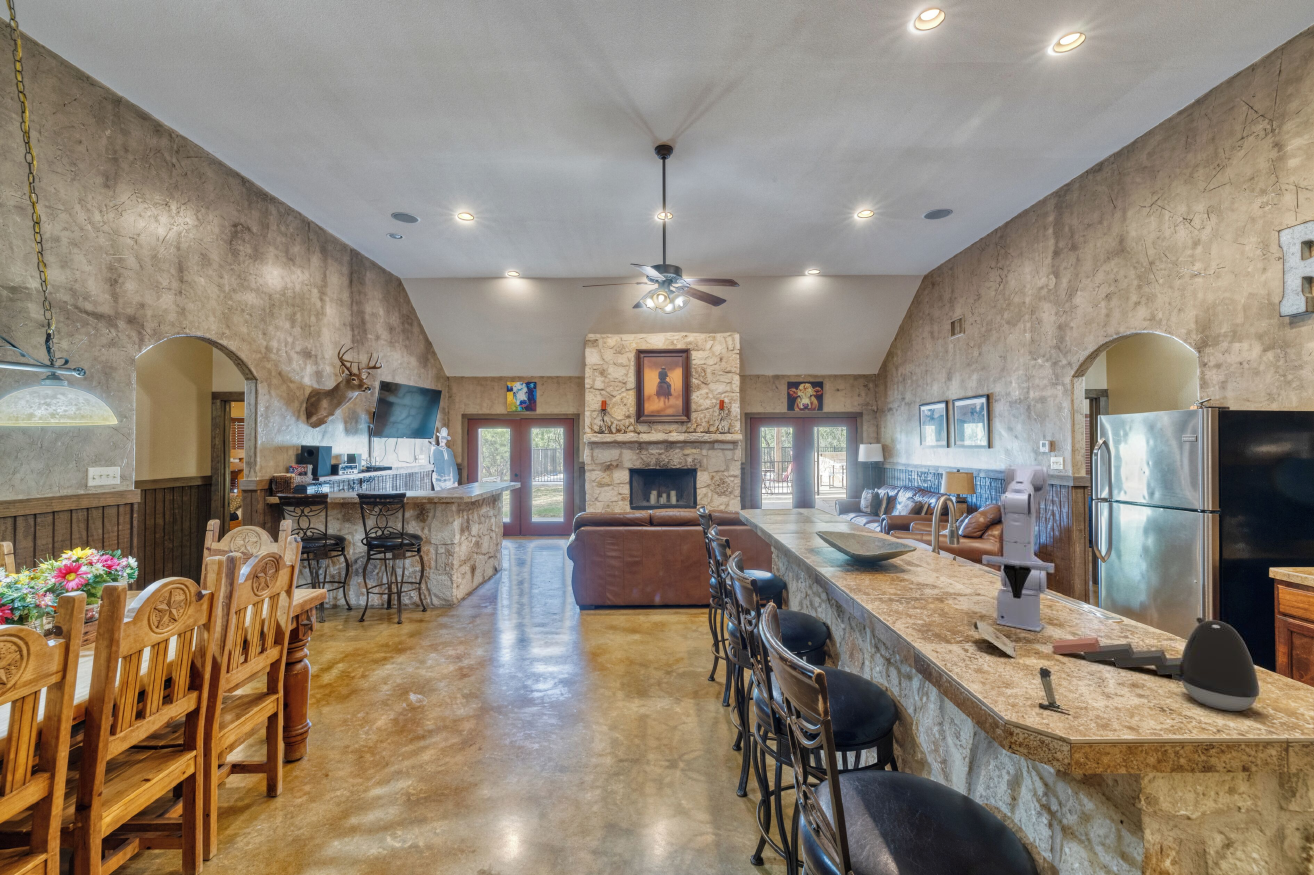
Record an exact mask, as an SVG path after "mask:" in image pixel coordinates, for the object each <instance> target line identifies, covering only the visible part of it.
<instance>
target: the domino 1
mask: <svg viewBox="0 0 1314 875" xmlns="http://www.w3.org/2000/svg"><path fill="white" fill-rule="evenodd" d="M1134 652H1135V650H1134V648H1133V646H1132V644H1131V642H1127V643H1126V642H1125V643H1117V644H1106V645H1100V648H1099V650H1098V651H1094V652H1082V653H1083V655H1084V657H1085V660H1086V661H1087V662H1089V661H1105V660H1113V659H1120V658H1132V656H1133V654H1134Z"/></svg>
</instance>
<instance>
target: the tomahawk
mask: <svg viewBox="0 0 1314 875" xmlns="http://www.w3.org/2000/svg"><path fill="white" fill-rule="evenodd" d="M1039 672H1040V673H1039V675H1040V676H1039V677H1040V680H1041V683H1042V686H1043V690H1044V693H1045V698H1046V700H1047V703H1048V704H1044V703H1043V702H1038V707H1039V709H1040V710H1044V711H1045V710H1048V711H1051V712H1054V713H1058V714H1062V715H1067V716H1071V715H1072V714H1071V713H1068V712H1070V710H1069V709H1065V708H1061V705H1060V704H1058V703H1057V699H1056V696H1055V691H1054V688H1053V683H1052V680H1051V674H1052V671H1051V670H1050V669H1049V668H1046V667H1045V668H1044V666H1041V667H1040V668H1039ZM1065 711H1067V712H1065Z"/></svg>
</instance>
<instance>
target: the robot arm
mask: <svg viewBox="0 0 1314 875" xmlns="http://www.w3.org/2000/svg"><path fill="white" fill-rule="evenodd" d="M1004 482H1005V489H1006V492H1005V493H1002V494H1001V497H1000V512H1001V517H1002V518H1001V521H1002V523H1003V527H1002V528H1003V529H1002V530H1003V532H1002V533H1003V535H1002V536H1003V537H1002V539H1003V541H1002V544H1003V546H1002V548H1003V550H1002V552H1003V554H1002V555H1003V556H997V555H996V556H995V555H987V554H985V555H982V557H981V558H982V562H981V563H982V564H984V565H992V566H993V565H995V566H1001V567H1000V585H1001V586H1002V588H999V589H998V591H997V594H996V595H997V596H996V624H997V625H1003V626H1007V627H1013V628H1016V629H1023V630H1027V631H1032V632H1037V633H1039V632H1041V631H1042V629H1043V627H1044V625H1045V624H1044V623H1043V622H1041V594H1044V593H1046V591H1047V573H1050V574H1053V573H1055V563H1052V562H1051V563H1050V562H1045V561H1042V560H1041V559H1039V558H1038V557H1037V556H1036V555H1035V542H1036V541H1035V538H1036V517H1037V516H1036V512H1037V507H1038V506H1039V505H1038V504H1039V502H1040V501H1041V500H1044V499H1047V495H1048V489H1049V488H1048V487H1049V468H1048V466H1047V465H1044V464H1043V465H1023V464H1022V465H1021V464H1019V465H1018V464H1014V465H1013V464H1007V465H1005V469H1004Z"/></svg>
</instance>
